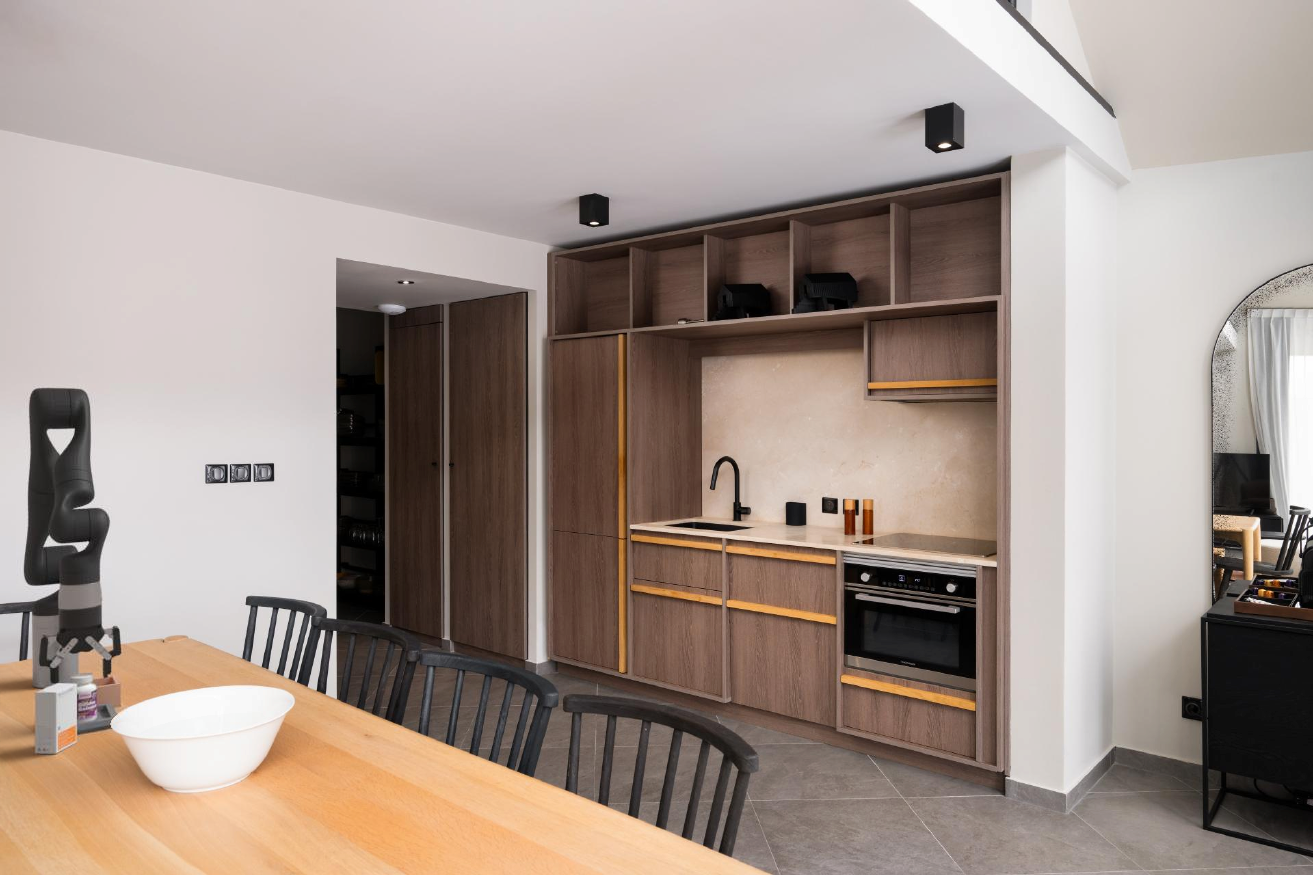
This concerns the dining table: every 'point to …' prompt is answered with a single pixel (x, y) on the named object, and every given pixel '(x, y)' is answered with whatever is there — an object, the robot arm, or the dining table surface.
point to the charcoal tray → (98, 720)
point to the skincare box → (55, 718)
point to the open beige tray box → (108, 690)
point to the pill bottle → (85, 697)
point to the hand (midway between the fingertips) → (81, 680)
